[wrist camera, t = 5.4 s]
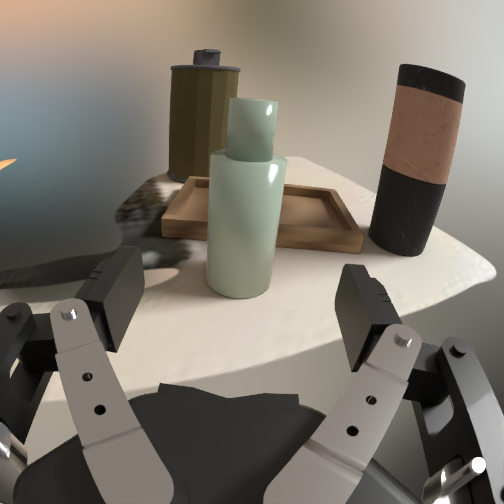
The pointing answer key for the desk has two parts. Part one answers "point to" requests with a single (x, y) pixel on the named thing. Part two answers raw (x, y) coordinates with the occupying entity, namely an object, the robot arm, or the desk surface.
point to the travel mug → (416, 158)
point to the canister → (199, 113)
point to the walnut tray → (290, 222)
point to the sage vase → (245, 201)
